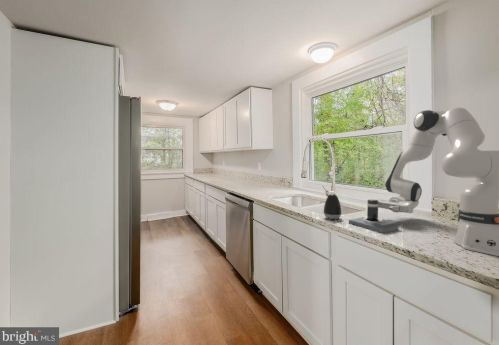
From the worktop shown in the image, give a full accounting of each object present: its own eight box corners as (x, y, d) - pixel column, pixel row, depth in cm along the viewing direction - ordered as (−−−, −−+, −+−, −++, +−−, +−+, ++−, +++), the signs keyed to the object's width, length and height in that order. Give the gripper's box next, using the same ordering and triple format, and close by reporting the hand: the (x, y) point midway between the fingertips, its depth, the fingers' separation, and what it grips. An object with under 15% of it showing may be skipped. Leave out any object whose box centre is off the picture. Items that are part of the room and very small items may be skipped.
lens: (380, 223, 123) (380, 200, 122) (373, 224, 121) (374, 201, 120) (371, 220, 128) (371, 199, 127) (364, 222, 125) (365, 199, 125)
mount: (398, 229, 118) (398, 221, 118) (383, 233, 113) (383, 225, 112) (363, 220, 136) (363, 213, 136) (348, 223, 130) (348, 216, 130)
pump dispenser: (333, 215, 148) (333, 192, 147) (345, 219, 138) (345, 194, 137) (319, 217, 144) (320, 193, 143) (331, 221, 134) (331, 195, 133)
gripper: (379, 196, 143) (365, 198, 136) (416, 201, 125) (401, 204, 118) (379, 206, 143) (364, 209, 137) (416, 213, 125) (401, 216, 119)
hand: (382, 206), depth 127 cm, fingers open, 8 cm apart
